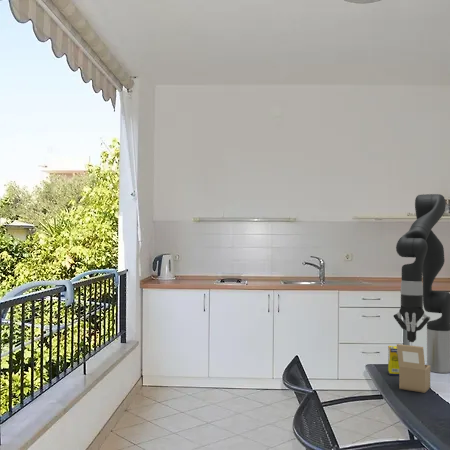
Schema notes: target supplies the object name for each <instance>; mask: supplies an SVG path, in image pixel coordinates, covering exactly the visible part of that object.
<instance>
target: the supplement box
mask: <svg viewBox="0 0 450 450" xmlns="http://www.w3.org/2000/svg"><path fill="white" fill-rule="evenodd" d="M387 347H388V348H387V349H388V351H387V352H388V353H387V355H388V356H387V357H388V360H387V362H388V363H387V365H388V366H387V372H388V374H389V376H395V377H399V367H400V366H399V362H398V353H397V345H388V346H387Z"/></svg>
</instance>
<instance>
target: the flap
mask: <svg viewBox="0 0 450 450" xmlns="http://www.w3.org/2000/svg"><path fill="white" fill-rule="evenodd" d="M396 346H397V353H398V362H399V366H401V367H408V368H416V369H423V370H425V365H426V363H425V361H426V360H425V353H424V346H419V345H417V346H416V345H408V344H402V343H401V344H400V343H396Z"/></svg>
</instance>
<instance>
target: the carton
mask: <svg viewBox="0 0 450 450" xmlns="http://www.w3.org/2000/svg"><path fill="white" fill-rule="evenodd" d="M398 377H399V378H398V379H399V381H398V384H399V386H398V387H399V388H398V389H399V390H405V391H410V392H417V393H424V394H425V393H427V392H428V390H430V388H431V371H430V365H427V364H425V370H423V369H416V368H408V367H401V366H400V367H399V376H398Z"/></svg>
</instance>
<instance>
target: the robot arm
mask: <svg viewBox="0 0 450 450" xmlns="http://www.w3.org/2000/svg"><path fill="white" fill-rule="evenodd" d="M414 207H415V208H414V210H415V217H416V220H415V221H413V222H412V224H411V225H410V228H409V230H408V231H407V232H405V233H404V234H403V235H402V236H401V237H400V238H399V239H398V240H397V243H396V245H395V249H396V253H397V255H398V256H400V257H401V258H415V260H414V261H413V262H411V263H406V264H405V263H404V264H403V265H402V266H401V283H400V308H399V311H398V312H397V313H395V314H394V315H393V319H395V321H396V322H397V324H398V325H399V327H401V329H402V330H404V331H406V337H407V338H406V339H407V340H408V343H414V342H415V341H417V332H418V331H422V330H423V328H424V327H425V326H426V365H430V372H431V373H437V374H439V373H441V374H446V373H447V374H448V373H450V292H449V291H441V290H433V289H432V287H433V283H434V281H435V280H436V277H437V275H438V274H439V273H440V272H441V270H442V269H443V267H444V264H445V249H444V244H443V243H442V242H441V241H440V239H439V237H437V235H436V234H435V233H434V231H433V230H432V229H433V228H434V226H435V225H436V224H438V222H439V221H440V219H442V217H443V216H444V214H445V212H446V199H445V197H444V196H443V195H442V194H439V193H429V194H424V193H423V194H418V195H416V196H415V199H414ZM424 310H425V311H424ZM425 312H427V313H433V314H441V316H440V317H438V318H437V319H433V320H431V317H430V316H428V315H427V314H426V313H425ZM402 318H403V319H404V320H405V321H404V320H403V319H402ZM420 320H422V322H420V323H419V325H418V322H419V321H420Z"/></svg>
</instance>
